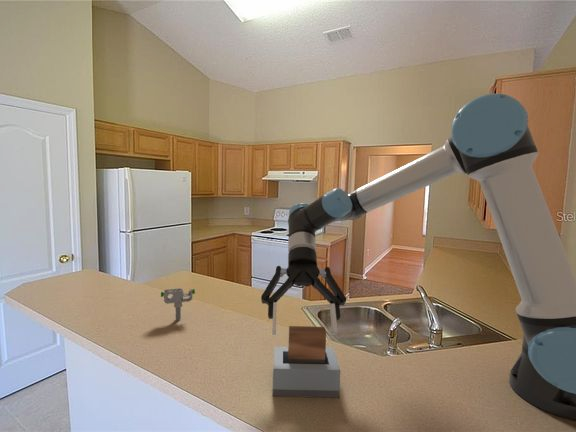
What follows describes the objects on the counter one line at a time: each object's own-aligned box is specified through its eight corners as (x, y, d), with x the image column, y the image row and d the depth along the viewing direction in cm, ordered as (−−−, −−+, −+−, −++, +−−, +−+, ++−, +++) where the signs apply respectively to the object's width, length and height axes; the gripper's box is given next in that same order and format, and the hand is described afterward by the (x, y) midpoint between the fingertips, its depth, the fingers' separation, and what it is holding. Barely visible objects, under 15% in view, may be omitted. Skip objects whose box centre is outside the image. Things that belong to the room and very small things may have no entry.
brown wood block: (287, 372, 69) (289, 326, 68) (322, 373, 69) (324, 326, 69) (287, 380, 66) (289, 332, 65) (324, 381, 66) (326, 333, 66)
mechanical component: (194, 319, 99) (194, 289, 98) (160, 323, 95) (160, 292, 95) (194, 315, 102) (194, 287, 101) (161, 319, 98) (161, 289, 97)
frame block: (273, 370, 72) (274, 346, 72) (332, 371, 73) (333, 347, 72) (272, 396, 63) (273, 368, 63) (339, 397, 64) (340, 370, 63)
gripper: (346, 261, 84) (356, 339, 70) (256, 259, 84) (249, 337, 70) (351, 246, 78) (363, 328, 65) (255, 243, 78) (247, 325, 64)
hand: (304, 333), depth 67 cm, fingers open, 13 cm apart
